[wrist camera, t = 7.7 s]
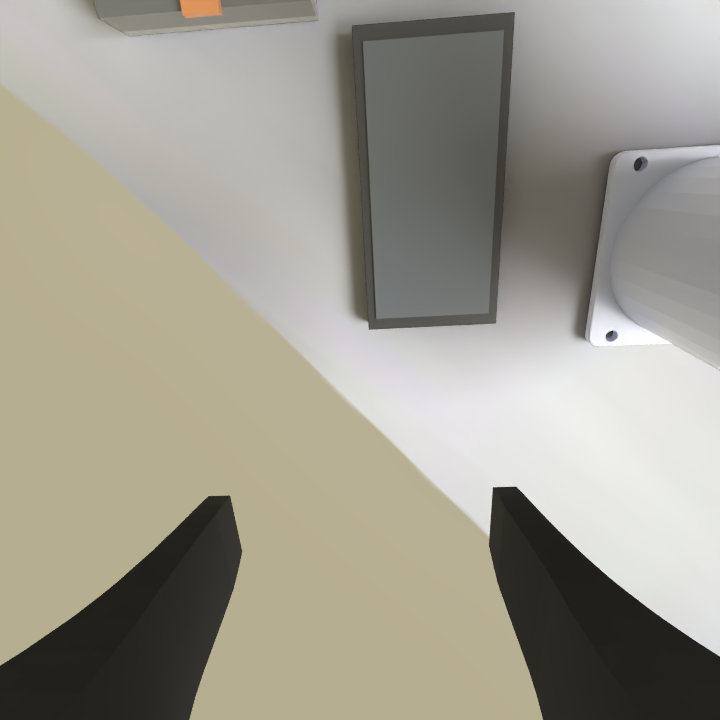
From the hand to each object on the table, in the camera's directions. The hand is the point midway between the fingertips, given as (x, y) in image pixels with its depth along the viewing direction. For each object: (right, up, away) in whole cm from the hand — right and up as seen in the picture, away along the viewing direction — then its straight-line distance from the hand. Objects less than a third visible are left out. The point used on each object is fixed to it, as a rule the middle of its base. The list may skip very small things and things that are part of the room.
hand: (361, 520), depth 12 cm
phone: (+3, +11, +6) cm, 13 cm away
